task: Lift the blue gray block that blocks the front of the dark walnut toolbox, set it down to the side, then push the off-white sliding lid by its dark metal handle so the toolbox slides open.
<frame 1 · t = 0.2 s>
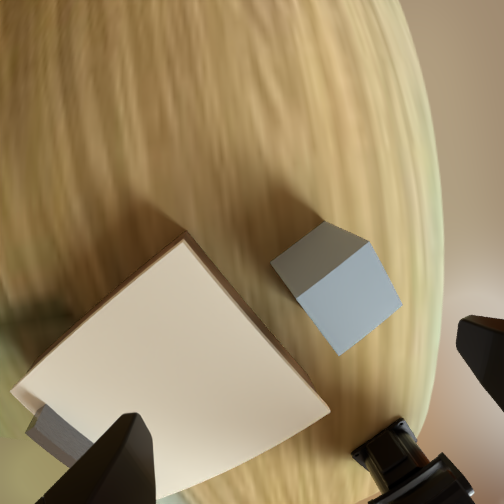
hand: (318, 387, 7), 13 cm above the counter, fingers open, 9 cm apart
blue gray block: (315, 267, 21), on the counter
lid: (159, 425, 16), point 5 cm above the counter, slide at 0.0 cm
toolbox: (165, 375, 21), on the counter
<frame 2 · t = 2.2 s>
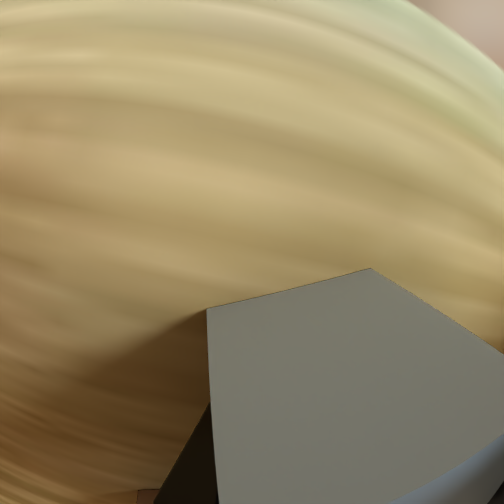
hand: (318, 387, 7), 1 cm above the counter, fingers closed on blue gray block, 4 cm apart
blue gray block: (303, 359, 9), on the counter, touching gripper
when the fingers open (2 cm above the counter, at t = 6.6 s): blue gray block drops 1 cm, on the counter.
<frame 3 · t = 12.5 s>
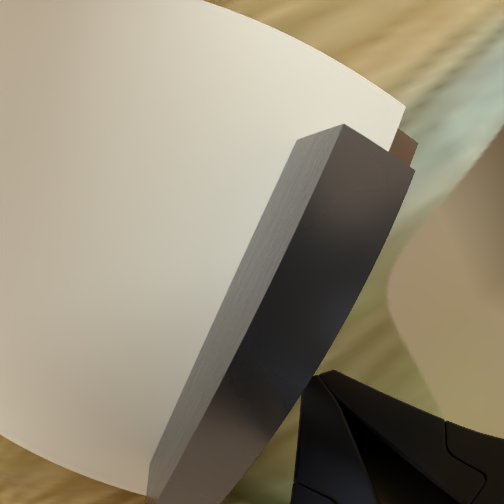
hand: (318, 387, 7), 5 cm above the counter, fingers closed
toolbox: (89, 234, 10), on the counter
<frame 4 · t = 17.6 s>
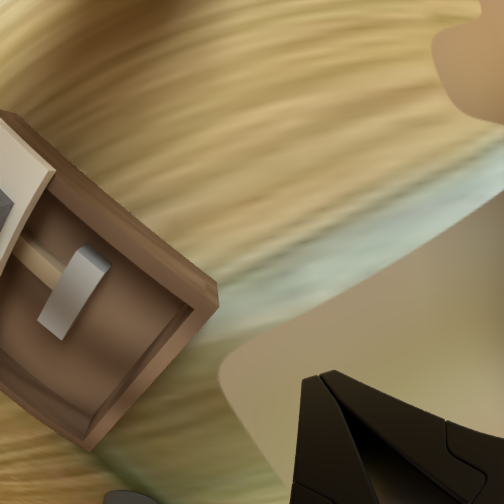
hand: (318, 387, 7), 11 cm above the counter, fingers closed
bottle: (133, 502, 22), on the counter
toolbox: (45, 285, 16), on the counter
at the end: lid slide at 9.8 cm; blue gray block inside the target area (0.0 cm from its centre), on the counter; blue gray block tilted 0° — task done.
